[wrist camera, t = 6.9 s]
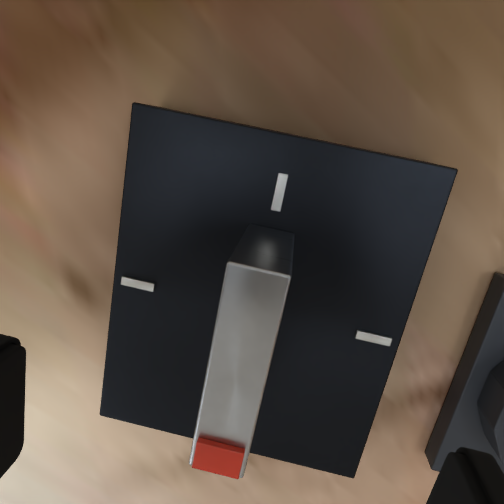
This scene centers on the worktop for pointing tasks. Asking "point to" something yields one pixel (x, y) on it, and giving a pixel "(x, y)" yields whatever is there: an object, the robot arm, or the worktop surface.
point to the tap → (242, 349)
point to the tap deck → (301, 286)
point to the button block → (476, 389)
